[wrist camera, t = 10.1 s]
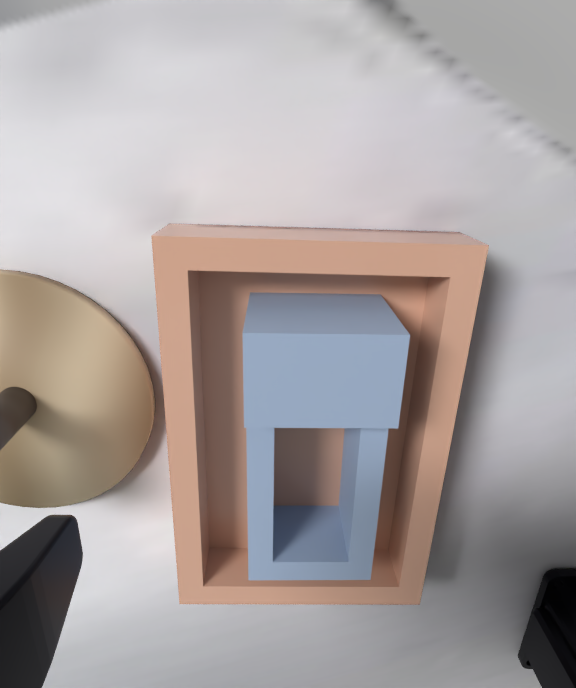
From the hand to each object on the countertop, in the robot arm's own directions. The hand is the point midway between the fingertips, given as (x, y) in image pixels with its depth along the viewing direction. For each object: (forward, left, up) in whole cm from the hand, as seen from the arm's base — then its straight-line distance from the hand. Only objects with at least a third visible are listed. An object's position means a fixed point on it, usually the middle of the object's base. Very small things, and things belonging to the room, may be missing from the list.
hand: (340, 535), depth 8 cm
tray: (0, +4, -10) cm, 11 cm away
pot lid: (+11, +3, -10) cm, 15 cm away
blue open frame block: (0, +4, -10) cm, 10 cm away
